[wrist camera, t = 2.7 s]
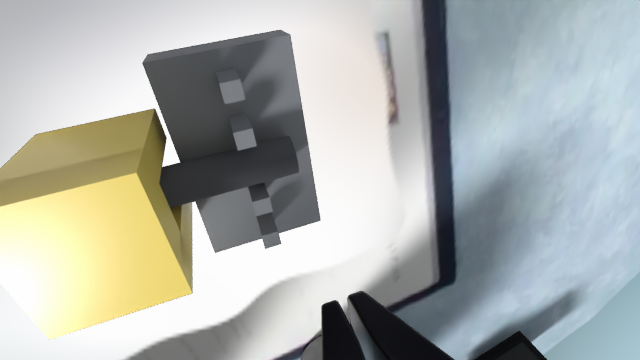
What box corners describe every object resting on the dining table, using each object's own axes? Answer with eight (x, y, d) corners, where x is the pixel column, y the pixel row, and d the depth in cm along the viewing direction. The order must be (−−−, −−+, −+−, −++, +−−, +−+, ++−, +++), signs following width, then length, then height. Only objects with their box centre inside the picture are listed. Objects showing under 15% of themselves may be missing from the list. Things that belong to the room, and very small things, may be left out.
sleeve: (191, 203, 19) (192, 293, 13) (93, 230, 18) (49, 339, 12) (154, 108, 16) (136, 172, 11) (35, 134, 15) (-54, 220, 10)
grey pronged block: (310, 202, 22) (332, 241, 18) (213, 231, 21) (217, 278, 17) (280, 29, 17) (302, 40, 13) (147, 54, 15) (135, 73, 12)
